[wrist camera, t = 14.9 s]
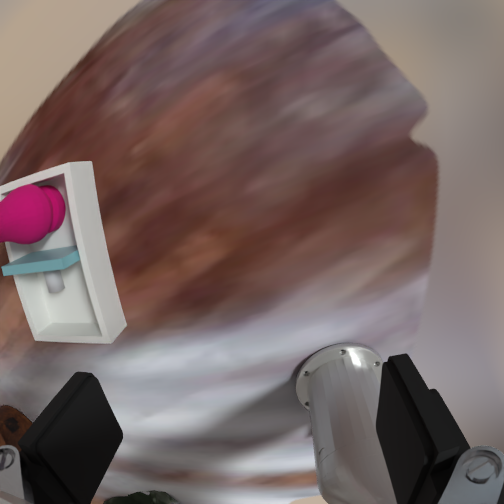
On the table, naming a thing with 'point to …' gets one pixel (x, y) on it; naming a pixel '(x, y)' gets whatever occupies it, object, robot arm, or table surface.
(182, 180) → the table surface
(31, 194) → the pepper mill
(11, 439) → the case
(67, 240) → the white tray
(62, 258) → the pusher
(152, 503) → the rose bouquet
